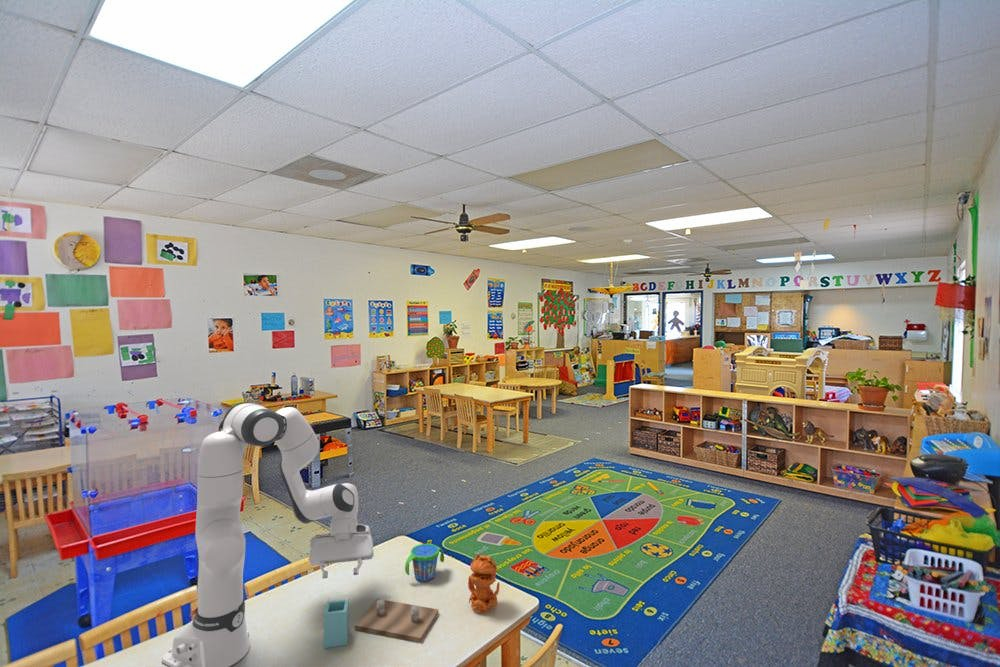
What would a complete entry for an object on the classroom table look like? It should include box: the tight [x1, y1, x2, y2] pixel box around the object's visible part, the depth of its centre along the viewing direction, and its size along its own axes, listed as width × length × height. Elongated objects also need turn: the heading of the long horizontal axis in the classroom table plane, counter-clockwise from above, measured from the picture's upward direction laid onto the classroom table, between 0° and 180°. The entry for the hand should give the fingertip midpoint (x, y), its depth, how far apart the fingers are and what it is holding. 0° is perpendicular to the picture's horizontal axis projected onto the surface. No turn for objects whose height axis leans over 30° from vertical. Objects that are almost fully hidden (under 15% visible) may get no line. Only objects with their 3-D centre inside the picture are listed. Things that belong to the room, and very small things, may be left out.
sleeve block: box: [323, 598, 350, 649], centre depth 139 cm, size 6×6×10 cm
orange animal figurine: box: [467, 554, 500, 613], centre depth 154 cm, size 11×11×18 cm
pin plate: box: [354, 598, 439, 644], centre depth 147 cm, size 22×14×6 cm, turn 76°
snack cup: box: [404, 543, 445, 582], centre depth 172 cm, size 16×11×10 cm
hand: (340, 576), depth 148 cm, fingers open, 8 cm apart
